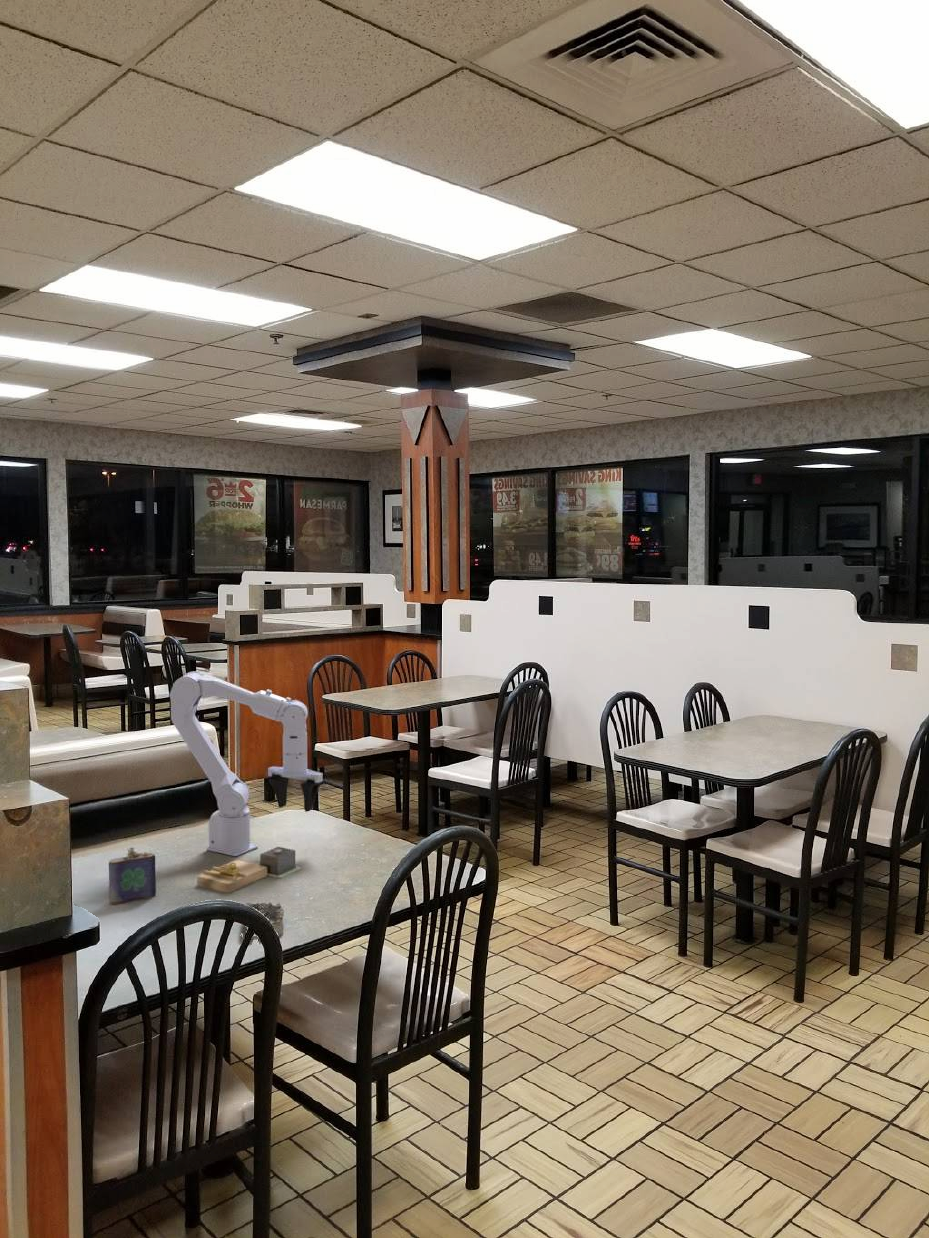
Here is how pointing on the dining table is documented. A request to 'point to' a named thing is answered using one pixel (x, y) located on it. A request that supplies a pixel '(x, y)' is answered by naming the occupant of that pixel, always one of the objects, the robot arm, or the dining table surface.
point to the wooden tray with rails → (229, 883)
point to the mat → (286, 872)
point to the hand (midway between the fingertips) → (295, 808)
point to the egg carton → (271, 914)
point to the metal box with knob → (278, 860)
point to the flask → (132, 877)
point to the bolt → (230, 870)
